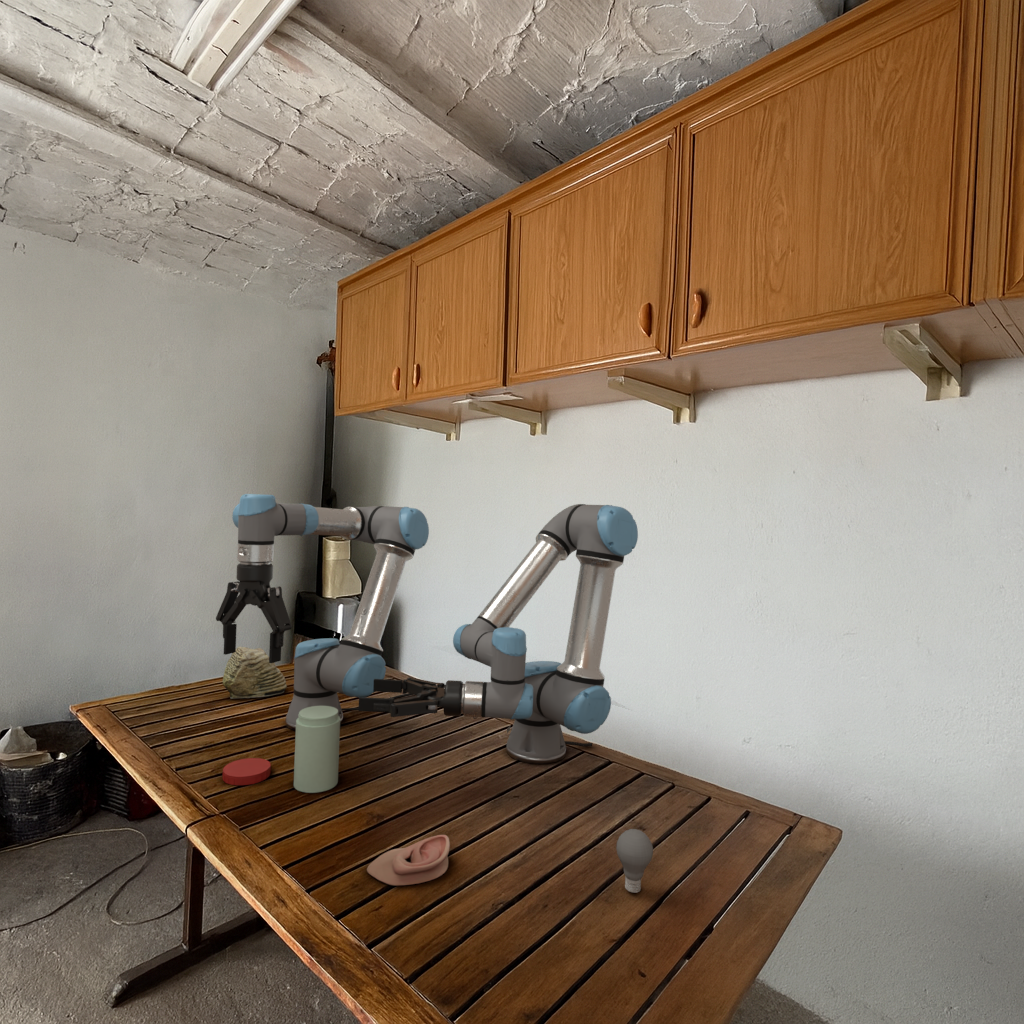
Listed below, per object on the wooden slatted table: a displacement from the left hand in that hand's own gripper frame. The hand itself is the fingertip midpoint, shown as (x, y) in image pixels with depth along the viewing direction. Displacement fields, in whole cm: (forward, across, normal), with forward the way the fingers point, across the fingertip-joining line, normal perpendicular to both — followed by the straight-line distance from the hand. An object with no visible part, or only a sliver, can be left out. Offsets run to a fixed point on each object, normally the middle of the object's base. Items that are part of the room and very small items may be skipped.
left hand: (251, 657), depth 142 cm
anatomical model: (+27, +52, -13) cm, 59 cm away
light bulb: (+27, +88, -1) cm, 92 cm away
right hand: (+6, +25, +8) cm, 27 cm away
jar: (+27, +16, +4) cm, 31 cm away
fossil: (+27, -42, +42) cm, 65 cm away
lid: (+25, 0, 0) cm, 25 cm away
